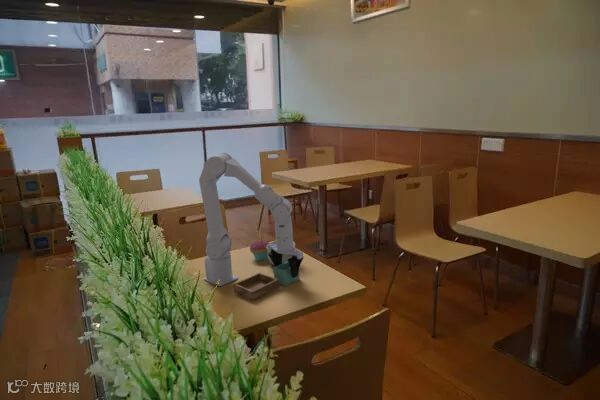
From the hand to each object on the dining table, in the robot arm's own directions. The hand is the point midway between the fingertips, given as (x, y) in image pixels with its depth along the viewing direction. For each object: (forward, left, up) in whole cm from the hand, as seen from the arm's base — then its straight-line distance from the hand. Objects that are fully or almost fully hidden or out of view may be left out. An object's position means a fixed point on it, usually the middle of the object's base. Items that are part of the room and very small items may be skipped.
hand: (286, 274), depth 138 cm
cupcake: (-23, +9, -3) cm, 25 cm away
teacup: (-13, +11, -3) cm, 17 cm away
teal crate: (0, 0, -3) cm, 3 cm away
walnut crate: (-3, -11, -3) cm, 12 cm away
